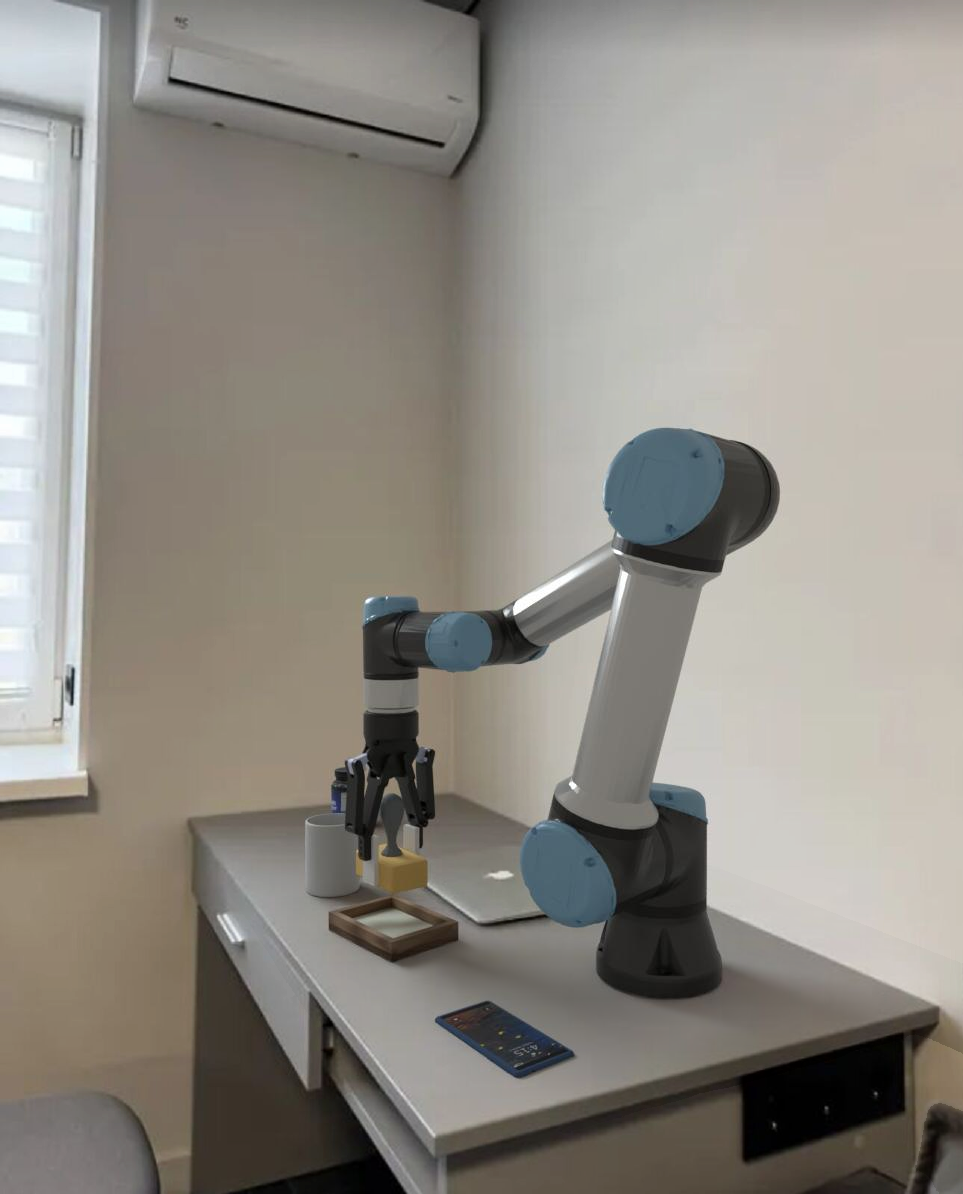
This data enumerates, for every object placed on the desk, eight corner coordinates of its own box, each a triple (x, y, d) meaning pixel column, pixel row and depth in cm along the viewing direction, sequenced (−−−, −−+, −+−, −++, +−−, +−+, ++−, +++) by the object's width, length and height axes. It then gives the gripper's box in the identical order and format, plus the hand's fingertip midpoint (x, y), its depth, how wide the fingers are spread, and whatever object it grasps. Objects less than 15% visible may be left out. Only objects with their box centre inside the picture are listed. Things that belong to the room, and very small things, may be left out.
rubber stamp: (429, 886, 124) (428, 797, 123) (392, 894, 120) (391, 803, 120) (390, 868, 131) (390, 784, 131) (354, 875, 128) (354, 789, 128)
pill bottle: (329, 821, 188) (328, 767, 188) (359, 818, 190) (358, 765, 190) (333, 828, 182) (333, 772, 182) (364, 825, 184) (363, 770, 184)
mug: (364, 893, 143) (364, 823, 143) (309, 900, 140) (309, 828, 140) (349, 871, 154) (349, 806, 154) (298, 877, 151) (298, 810, 151)
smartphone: (488, 998, 105) (576, 1051, 93) (488, 1005, 105) (576, 1059, 93) (432, 1016, 101) (516, 1074, 88) (432, 1024, 101) (516, 1083, 88)
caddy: (458, 940, 124) (458, 921, 124) (391, 962, 116) (391, 942, 116) (393, 911, 135) (393, 894, 135) (328, 929, 128) (328, 911, 128)
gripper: (429, 700, 135) (429, 858, 135) (315, 712, 122) (316, 886, 122) (462, 705, 129) (462, 870, 129) (346, 718, 116) (346, 900, 117)
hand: (391, 877), depth 126 cm, fingers closed on rubber stamp, 6 cm apart
